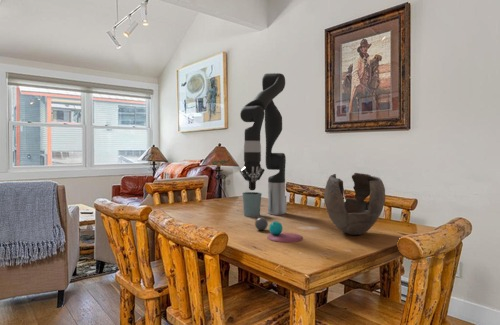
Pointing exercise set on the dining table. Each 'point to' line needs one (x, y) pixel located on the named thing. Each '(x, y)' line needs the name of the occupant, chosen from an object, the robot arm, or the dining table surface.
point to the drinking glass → (251, 204)
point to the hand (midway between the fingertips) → (252, 190)
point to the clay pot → (355, 203)
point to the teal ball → (275, 228)
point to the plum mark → (285, 237)
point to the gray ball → (261, 223)
